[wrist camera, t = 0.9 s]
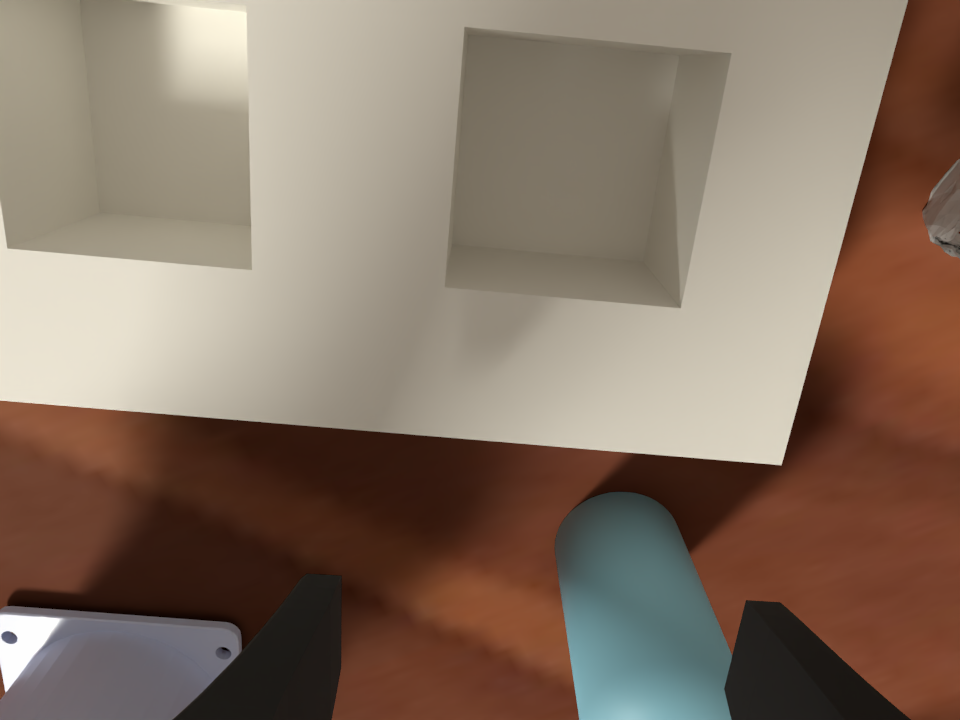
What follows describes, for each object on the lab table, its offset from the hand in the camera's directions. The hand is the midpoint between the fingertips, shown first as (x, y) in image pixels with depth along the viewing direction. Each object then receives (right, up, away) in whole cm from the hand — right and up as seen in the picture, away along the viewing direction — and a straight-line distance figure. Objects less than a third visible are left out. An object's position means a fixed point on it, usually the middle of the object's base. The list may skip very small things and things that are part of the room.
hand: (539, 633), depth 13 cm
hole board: (-4, +11, +6) cm, 13 cm away
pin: (+3, -1, +11) cm, 11 cm away
